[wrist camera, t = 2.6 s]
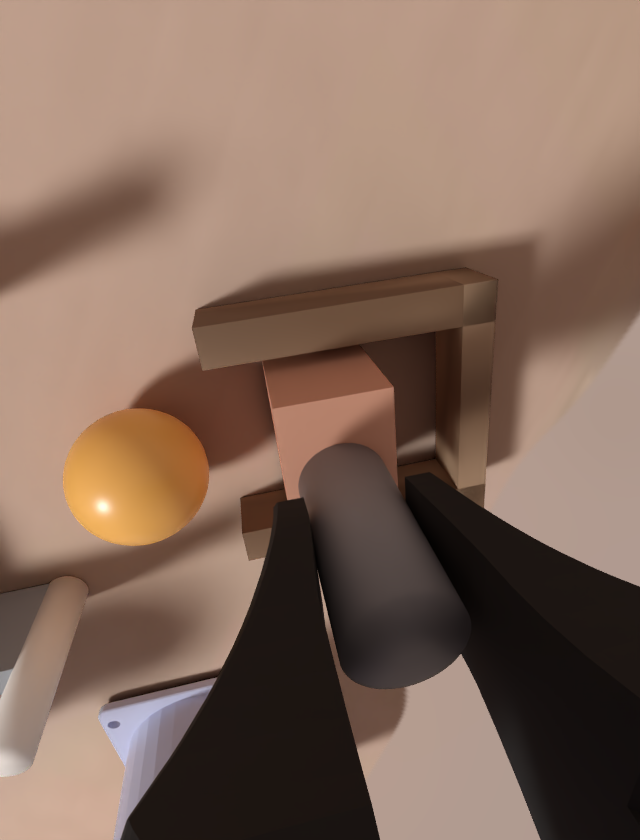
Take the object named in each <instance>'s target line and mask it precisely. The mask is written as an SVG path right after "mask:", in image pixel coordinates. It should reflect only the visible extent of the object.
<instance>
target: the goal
mask: <svg viewBox="0 0 640 840" xmlns="http://www.w3.org/2000/svg"><path fill="white" fill-rule="evenodd" d="M87 595H88V586H87V585H86V583H85V582H84V581H82V580H81V579H79V578H76V577H72V576H63V577H59V578H56V579H54V580H53V581H52V582H51V583H50V584H45V585H40V586H36V587H31V588H26V589H21V590H16V591H12V592H7V593H2V594H0V695H2V696H1V698H0V777H8V776H14V775H18V774H21V773H23V772H25V771H26V770H28V769H29V768H30V767H31V766H32V764H33V761H34V758H35V755H36V752H37V749H38V746H39V743H40V739H41V736H42V733H43V730H44V727H45V724H46V721H47V718H48V715H49V712H50V709H51V706H52V703H53V699H54V696H55V693H56V690H57V687H58V684H59V681H60V678H61V675H62V672H63V669H64V666H65V663H66V659H67V656H68V653H69V650H70V647H71V644H72V641H73V638H74V635H75V632H76V629H77V626H78V623H79V619H80V616H81V613H82V610H83V607H84V604H85V601H86V598H87Z"/></svg>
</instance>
